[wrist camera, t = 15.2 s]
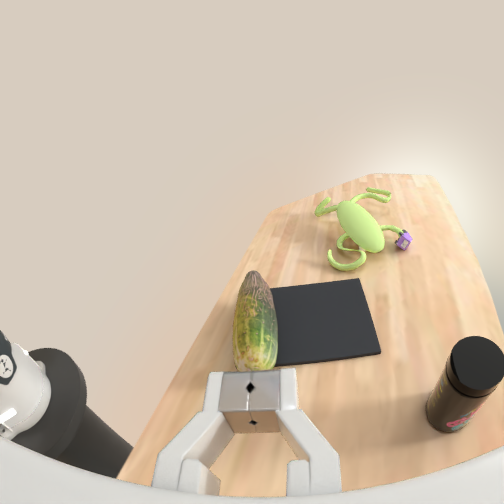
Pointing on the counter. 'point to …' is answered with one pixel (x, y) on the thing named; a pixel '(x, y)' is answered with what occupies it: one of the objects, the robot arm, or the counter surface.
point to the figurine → (361, 227)
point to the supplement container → (465, 383)
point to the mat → (323, 323)
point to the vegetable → (255, 326)
